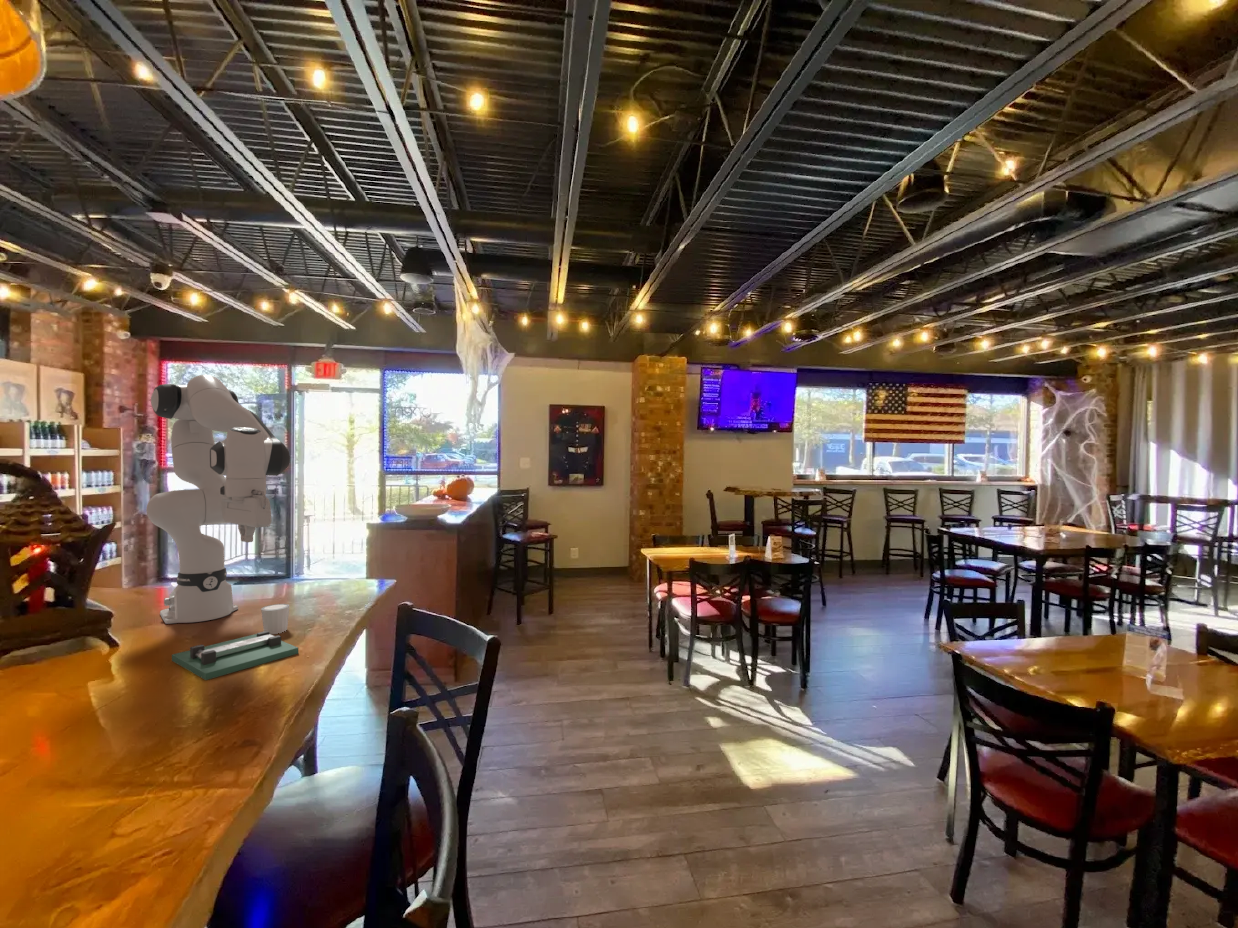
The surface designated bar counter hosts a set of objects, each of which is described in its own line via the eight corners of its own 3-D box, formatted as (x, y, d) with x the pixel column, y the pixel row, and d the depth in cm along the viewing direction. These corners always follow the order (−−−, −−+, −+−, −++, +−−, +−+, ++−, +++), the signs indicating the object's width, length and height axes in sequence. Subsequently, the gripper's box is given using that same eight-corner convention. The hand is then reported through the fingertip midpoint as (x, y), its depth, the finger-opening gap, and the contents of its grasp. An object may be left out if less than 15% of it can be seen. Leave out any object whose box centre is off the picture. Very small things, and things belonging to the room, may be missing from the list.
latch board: (171, 660, 137) (171, 644, 137) (261, 637, 153) (261, 623, 153) (205, 680, 126) (205, 662, 125) (298, 653, 142) (298, 637, 142)
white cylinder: (295, 627, 162) (295, 603, 162) (278, 635, 155) (278, 610, 155) (273, 626, 163) (272, 602, 163) (255, 634, 156) (255, 609, 156)
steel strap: (195, 658, 134) (195, 651, 134) (269, 639, 148) (269, 632, 147) (201, 662, 132) (201, 654, 132) (276, 642, 145) (276, 635, 145)
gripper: (278, 490, 144) (278, 544, 145) (242, 486, 156) (243, 536, 156) (251, 491, 139) (251, 547, 140) (216, 488, 151) (217, 539, 151)
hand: (247, 541), depth 148 cm, fingers closed
